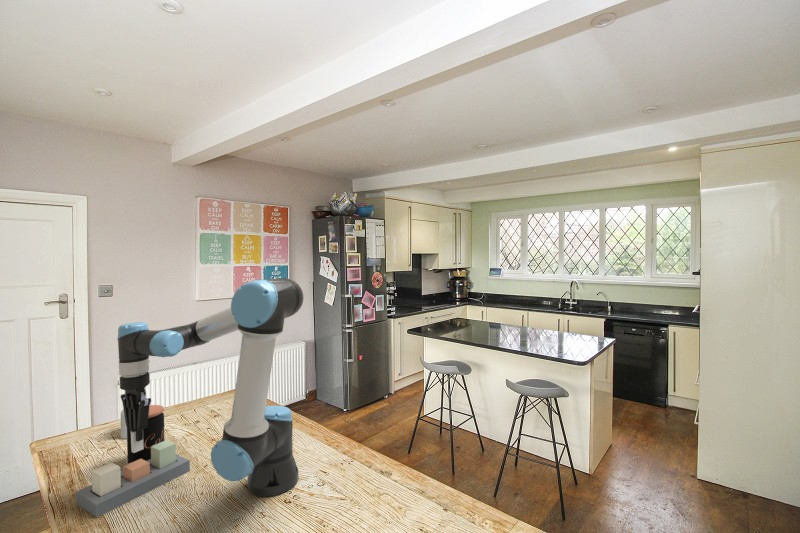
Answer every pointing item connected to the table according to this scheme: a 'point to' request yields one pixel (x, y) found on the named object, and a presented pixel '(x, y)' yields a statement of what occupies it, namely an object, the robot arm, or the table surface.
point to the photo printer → (123, 426)
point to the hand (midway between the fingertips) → (137, 450)
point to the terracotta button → (136, 470)
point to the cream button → (106, 479)
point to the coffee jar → (148, 434)
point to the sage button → (163, 454)
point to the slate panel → (130, 488)
